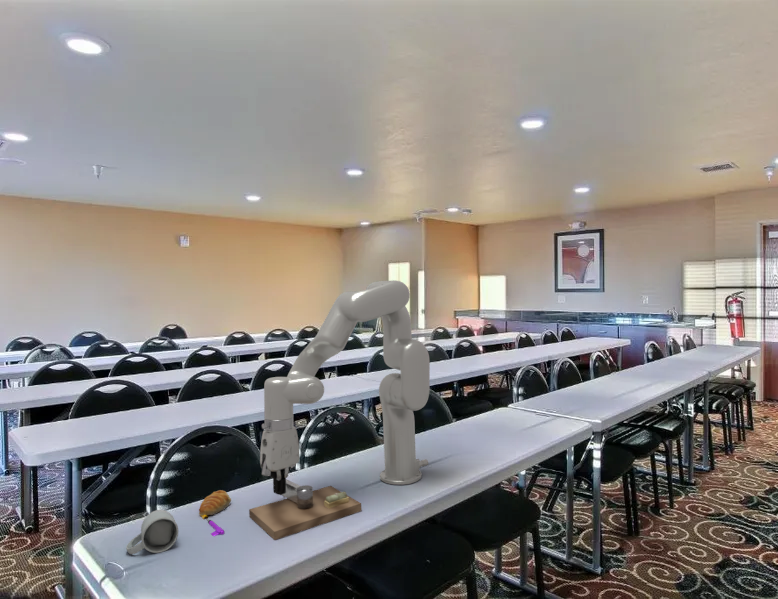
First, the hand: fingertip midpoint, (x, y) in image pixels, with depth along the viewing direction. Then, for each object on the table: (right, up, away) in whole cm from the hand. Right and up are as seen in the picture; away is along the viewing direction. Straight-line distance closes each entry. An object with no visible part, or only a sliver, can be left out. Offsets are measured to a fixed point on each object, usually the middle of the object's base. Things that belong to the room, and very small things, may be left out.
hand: (279, 492), depth 137 cm
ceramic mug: (-25, -6, -18) cm, 32 cm away
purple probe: (-16, -6, -8) cm, 19 cm away
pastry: (-18, -5, +2) cm, 19 cm away
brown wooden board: (+8, -4, -4) cm, 9 cm away
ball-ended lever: (+4, -2, 0) cm, 5 cm away
